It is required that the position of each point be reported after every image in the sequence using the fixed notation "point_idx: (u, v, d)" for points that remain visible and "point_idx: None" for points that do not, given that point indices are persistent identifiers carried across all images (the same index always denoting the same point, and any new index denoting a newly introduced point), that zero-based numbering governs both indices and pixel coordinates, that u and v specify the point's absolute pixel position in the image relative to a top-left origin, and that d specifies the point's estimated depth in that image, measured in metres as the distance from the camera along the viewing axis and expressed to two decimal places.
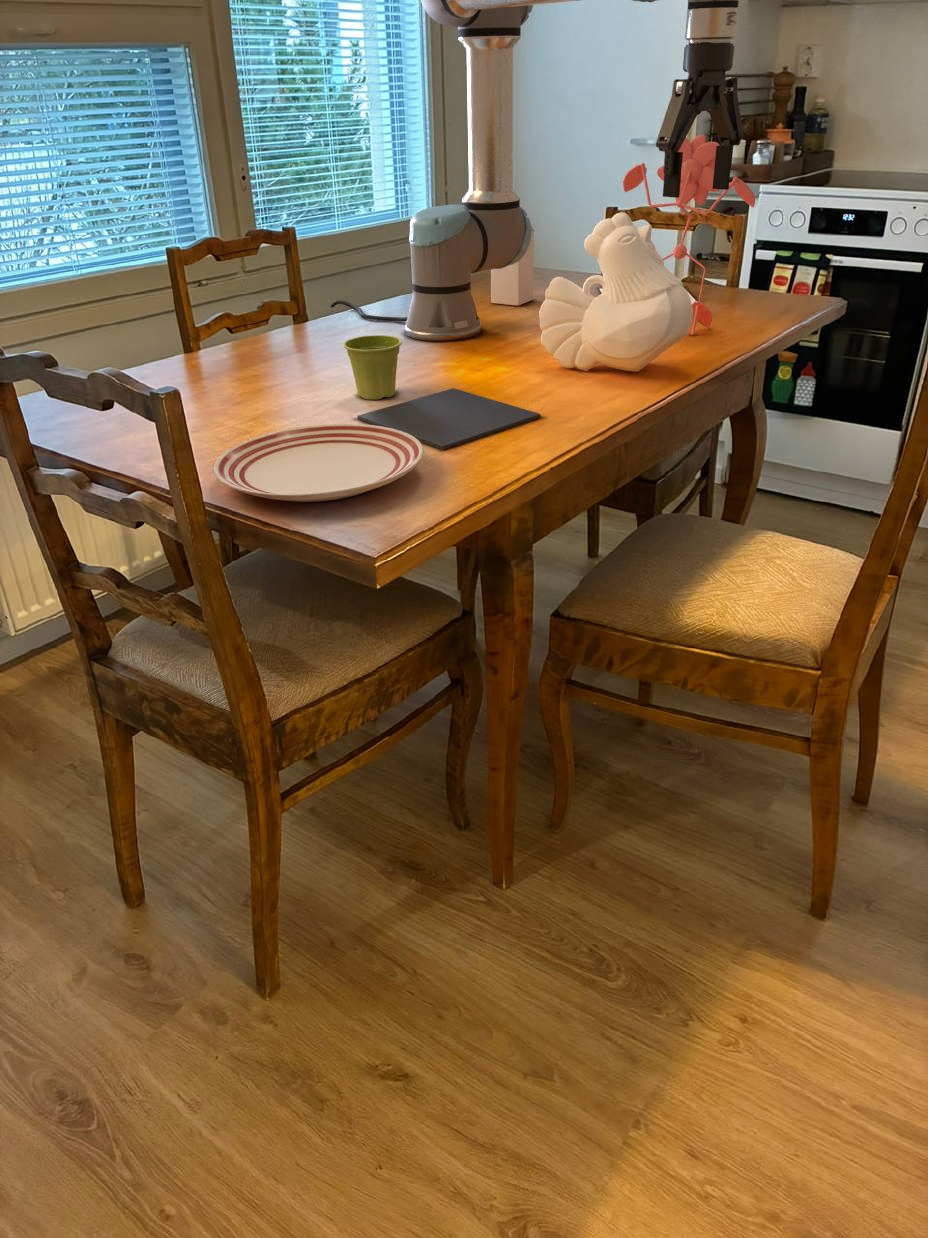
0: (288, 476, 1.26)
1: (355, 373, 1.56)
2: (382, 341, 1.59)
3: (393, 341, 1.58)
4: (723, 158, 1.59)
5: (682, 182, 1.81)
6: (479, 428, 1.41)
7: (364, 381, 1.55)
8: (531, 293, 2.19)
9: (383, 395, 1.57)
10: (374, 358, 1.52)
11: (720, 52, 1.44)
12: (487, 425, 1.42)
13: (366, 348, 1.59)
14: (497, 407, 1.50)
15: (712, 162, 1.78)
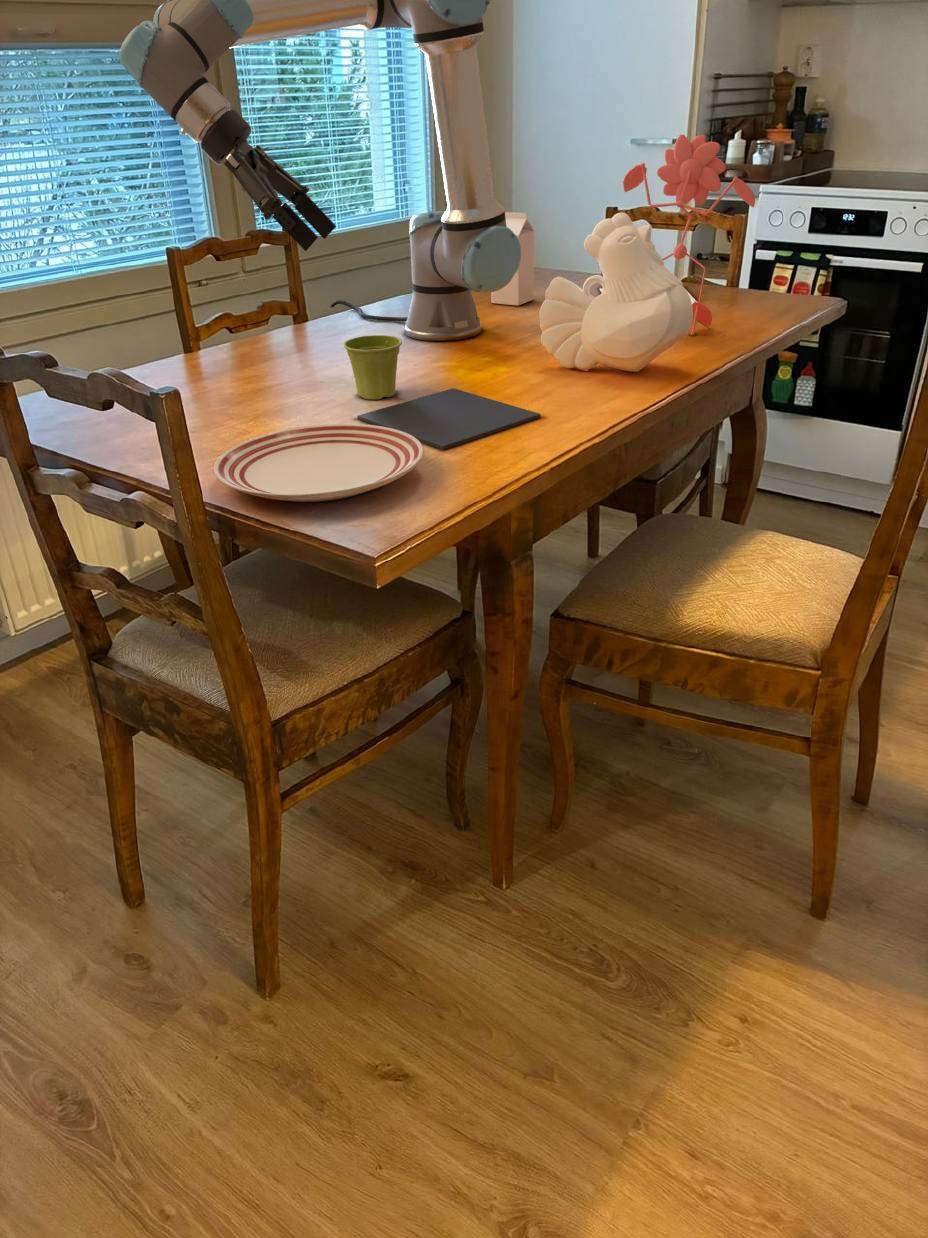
0: (288, 476, 1.26)
1: (355, 373, 1.56)
2: (382, 341, 1.59)
3: (393, 341, 1.58)
4: None
5: (682, 182, 1.81)
6: (479, 428, 1.41)
7: (364, 381, 1.55)
8: (531, 293, 2.19)
9: (383, 395, 1.57)
10: (374, 358, 1.52)
11: None
12: (487, 425, 1.42)
13: (366, 348, 1.59)
14: (497, 407, 1.50)
15: (712, 162, 1.78)
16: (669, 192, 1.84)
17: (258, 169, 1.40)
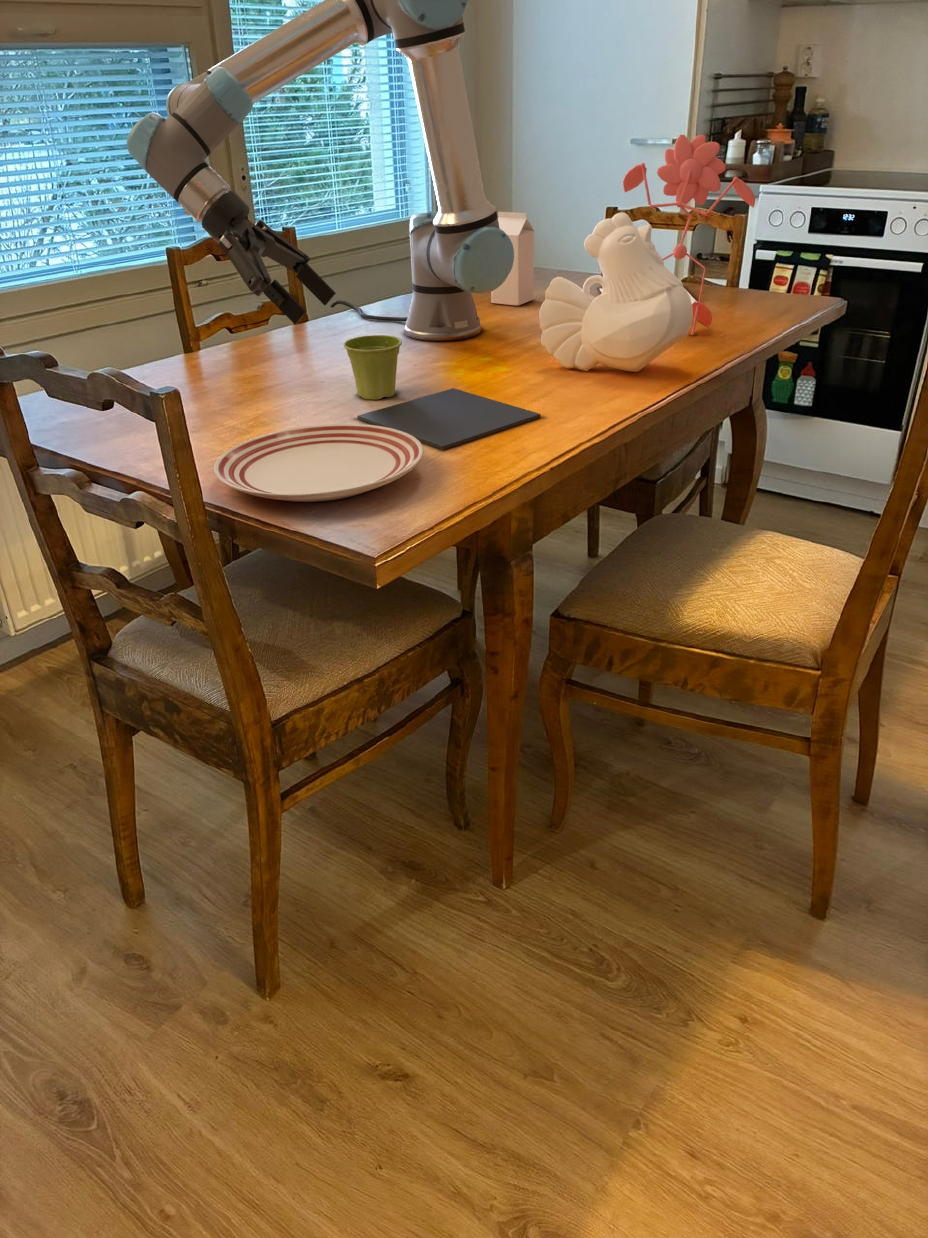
0: (288, 476, 1.26)
1: (355, 373, 1.56)
2: (382, 341, 1.59)
3: (393, 341, 1.58)
4: None
5: (682, 182, 1.81)
6: (479, 428, 1.41)
7: (364, 381, 1.55)
8: (531, 293, 2.19)
9: (383, 395, 1.57)
10: (374, 358, 1.52)
11: None
12: (487, 425, 1.42)
13: (366, 348, 1.59)
14: (497, 407, 1.50)
15: (712, 162, 1.78)
16: (669, 192, 1.84)
17: (252, 248, 1.48)
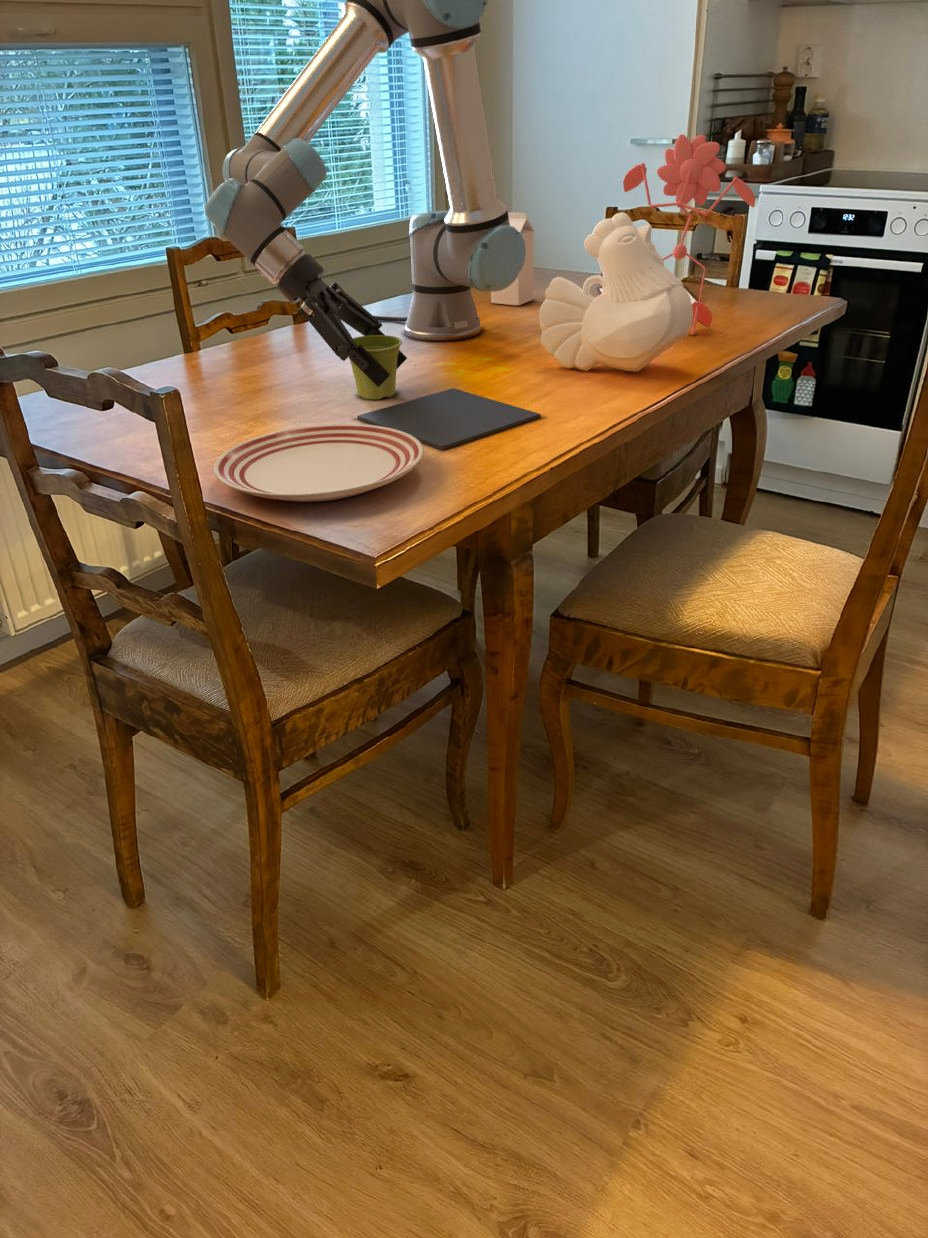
0: (288, 476, 1.26)
1: (355, 373, 1.56)
2: (382, 341, 1.59)
3: (393, 341, 1.58)
4: None
5: (682, 182, 1.81)
6: (479, 428, 1.41)
7: (364, 381, 1.55)
8: (531, 293, 2.19)
9: (383, 395, 1.57)
10: (375, 358, 1.52)
11: None
12: (487, 425, 1.42)
13: (366, 348, 1.59)
14: (497, 407, 1.50)
15: (712, 162, 1.78)
16: (669, 192, 1.84)
17: (331, 312, 1.50)
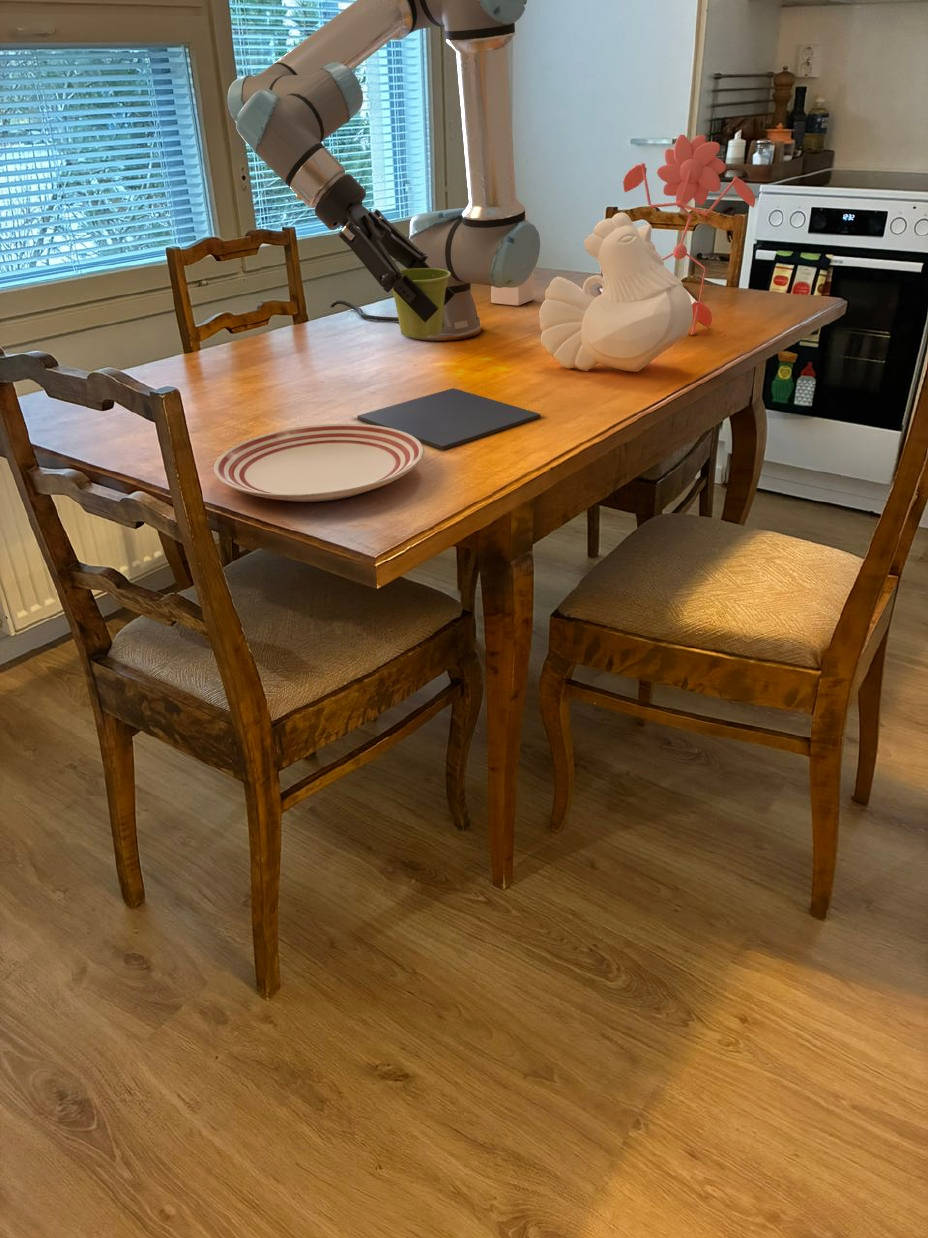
0: (288, 476, 1.26)
1: (399, 308, 1.41)
2: (428, 275, 1.45)
3: (440, 274, 1.43)
4: None
5: (682, 182, 1.81)
6: (479, 428, 1.41)
7: (409, 317, 1.41)
8: (531, 293, 2.19)
9: (429, 333, 1.42)
10: None
11: None
12: (487, 425, 1.42)
13: None
14: (497, 407, 1.50)
15: (712, 162, 1.78)
16: (669, 192, 1.84)
17: (374, 238, 1.36)
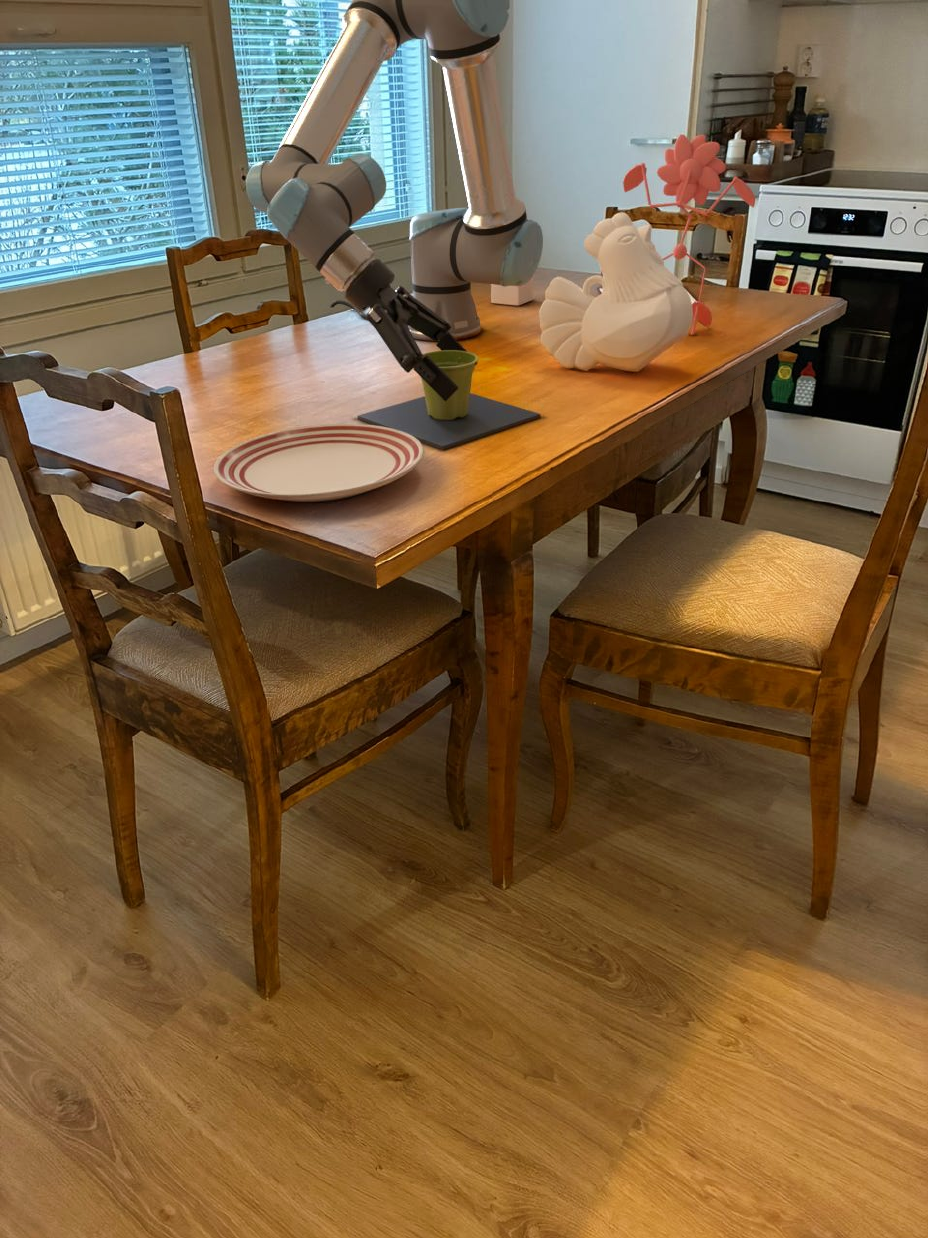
0: (288, 476, 1.26)
1: (427, 392, 1.44)
2: (454, 357, 1.47)
3: (467, 357, 1.46)
4: None
5: (682, 182, 1.81)
6: (479, 428, 1.41)
7: (437, 400, 1.43)
8: (531, 293, 2.19)
9: (456, 415, 1.45)
10: (449, 376, 1.40)
11: None
12: (487, 425, 1.42)
13: (437, 364, 1.47)
14: (497, 407, 1.50)
15: (712, 162, 1.78)
16: (669, 192, 1.84)
17: (400, 320, 1.38)
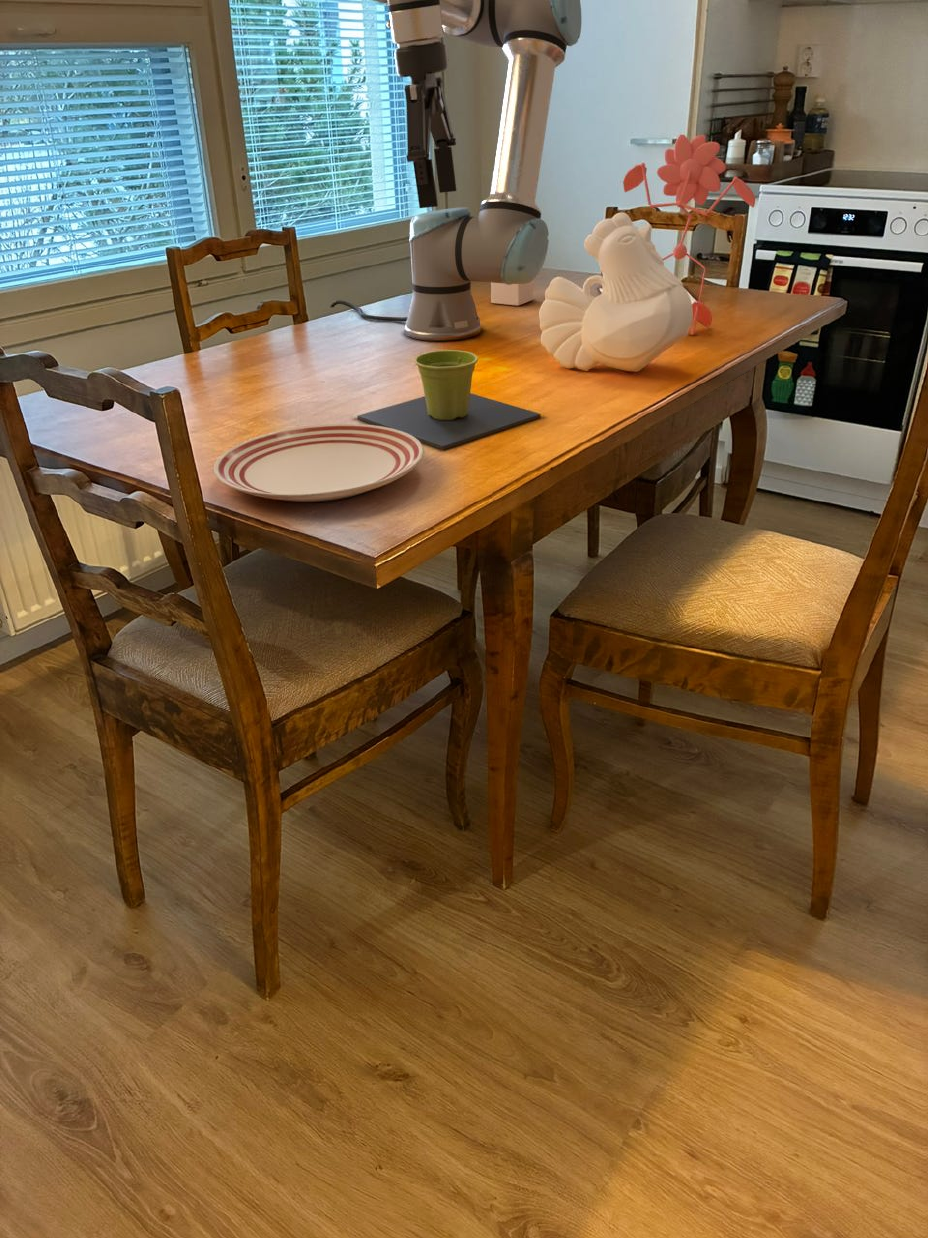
0: (288, 476, 1.26)
1: (427, 392, 1.44)
2: (454, 357, 1.47)
3: (467, 357, 1.46)
4: None
5: (682, 182, 1.81)
6: (479, 428, 1.41)
7: (437, 400, 1.43)
8: (531, 293, 2.19)
9: (456, 415, 1.45)
10: (450, 376, 1.40)
11: None
12: (487, 425, 1.42)
13: (437, 364, 1.47)
14: (497, 407, 1.50)
15: (712, 162, 1.78)
16: (669, 192, 1.84)
17: (428, 112, 1.41)
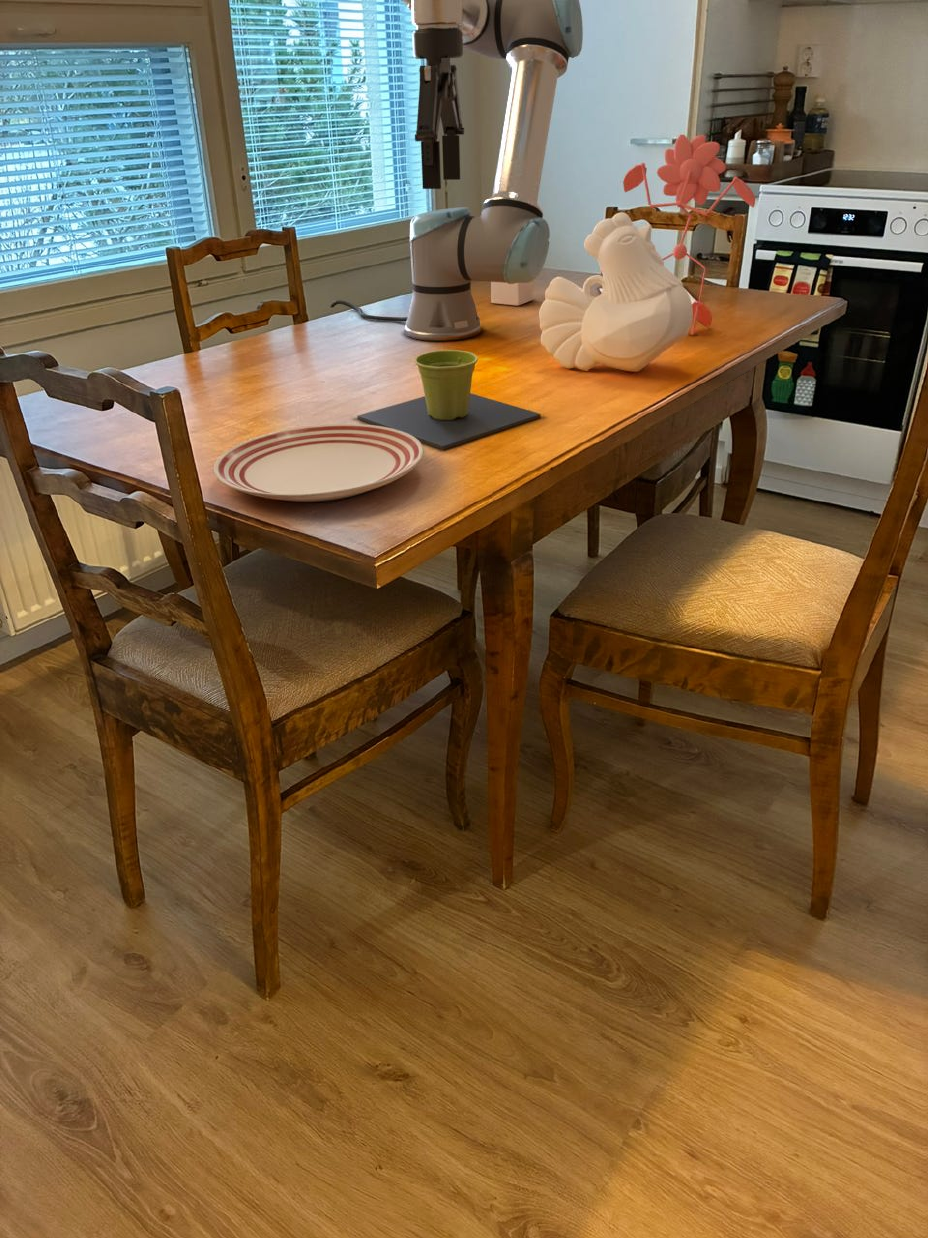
0: (288, 476, 1.26)
1: (427, 392, 1.44)
2: (454, 357, 1.47)
3: (467, 357, 1.46)
4: None
5: (682, 182, 1.81)
6: (479, 428, 1.41)
7: (437, 400, 1.43)
8: (531, 293, 2.19)
9: (456, 415, 1.45)
10: (450, 376, 1.40)
11: None
12: (487, 425, 1.42)
13: (437, 364, 1.47)
14: (497, 407, 1.50)
15: (712, 162, 1.78)
16: (669, 192, 1.84)
17: (440, 95, 1.43)
